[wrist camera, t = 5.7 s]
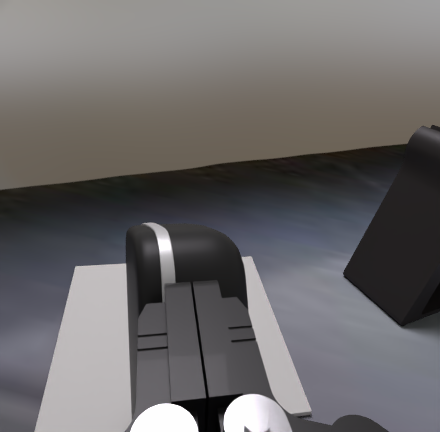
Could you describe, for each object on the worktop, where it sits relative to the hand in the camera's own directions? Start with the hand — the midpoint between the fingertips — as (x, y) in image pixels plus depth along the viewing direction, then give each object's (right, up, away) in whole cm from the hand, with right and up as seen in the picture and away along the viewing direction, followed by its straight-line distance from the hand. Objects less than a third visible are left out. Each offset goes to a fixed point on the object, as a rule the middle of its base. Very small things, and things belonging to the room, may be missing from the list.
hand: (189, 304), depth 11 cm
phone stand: (+16, -3, +20) cm, 26 cm away
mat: (-2, -5, +15) cm, 15 cm away
